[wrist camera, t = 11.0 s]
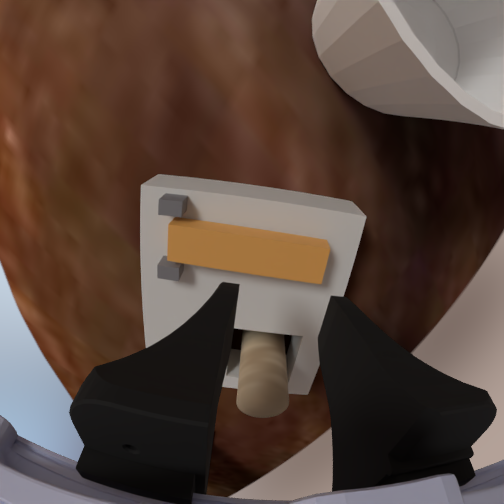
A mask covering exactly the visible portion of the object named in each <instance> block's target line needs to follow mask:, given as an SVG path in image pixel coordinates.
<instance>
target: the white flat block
mask: <svg viewBox="0 0 504 504" xmlns="http://www.w3.org/2000/svg"><path fill="white" fill-rule="evenodd" d="M175 217H180V218H187V219H195V220H202V221H209V222H216V223H222V224H229V225H236V226H243V227H249V228H256V229H262V230H269V231H275V232H282V233H288V234H294V235H301V236H307V237H313V238H319V239H325V240H327V241H328V244H329V246H330V253H329V257H328V261H327V265H326V268H325V272H324V276H323V280H322V283H321V284H315V283H308V282H301V281H294V280H287V279H280V278H274V277H267V276H260V275H254V274H247V273H241V272H234V271H228V270H222V269H215V268H209V267H203V266H196V265H190V264H184V263H178V262H172V261H167V249H168V224H169V223H170V222H171V221H172V220H173V219H174V218H175ZM365 220H366V216H365V214H364V213H363V212H362V211H361V210H360V209H359V208H358V207H357V206H356V205H355V204H354V203H353V202H352V201H348V200H342V199H337V198H331V197H326V196H320V195H314V194H308V193H302V192H296V191H290V190H283V189H277V188H270V187H263V186H256V185H249V184H241V183H234V182H226V181H218V180H209V179H200V178H191V177H182V176H172V175H161V174H158V175H156V176H155V177H153V178H152V179H150V180H148V181H147V182H145V183H144V184H142V185H141V208H140V251H141V284H142V303H143V318H144V331H145V343H146V348H147V347H149V346H151V345H153V344H155V343H156V342H158V341H160V340H161V339H163V338H164V337H166V336H168V335H169V334H171V333H172V332H173V331H175V330H176V329H177V328H179V327H180V326H181V325H182V324H184V323H185V322H186V321H187V320H188V319H189V318H190V317H192V316H193V315H194V314H195V313H196V312H197V311H198V310H199V309H200V308H201V307H202V306H203V305H204V304H205V302H206V301H207V300H208V299H209V298H210V297H211V296H212V294H213V293H214V292H215V290H216V289H217V288H218V286H219V284H220V283H222V282H228V283H235V284H240V286H239V294H238V301H237V308H236V316H235V323H234V328H236V329H244V330H252V331H260V332H268V333H277V334H287V335H292V337H291V341H290V344H289V348H288V352H287V355H286V367H287V380H288V394H304V395H308V393H309V390H310V388H311V385H312V383H313V380H314V378H315V375H316V373H317V370H318V368H319V365H320V361H319V352H318V335H319V332H320V329H321V326H322V322H323V319H324V316H325V313H326V310H327V306H328V303H329V300H330V297H331V295H332V296H341V297H343V296H344V293H345V290H346V287H347V284H348V280H349V277H350V274H351V271H352V267H353V264H354V260H355V257H356V253H357V250H358V246H359V243H360V239H361V235H362V232H363V228H364V224H365ZM240 356H241V350H237V349H231V352H230V356H229V360H228V364H227V369H226V373H225V377H224V381H223V385H222V387H229V388H236V389H238V379H239V368H240Z"/></svg>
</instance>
